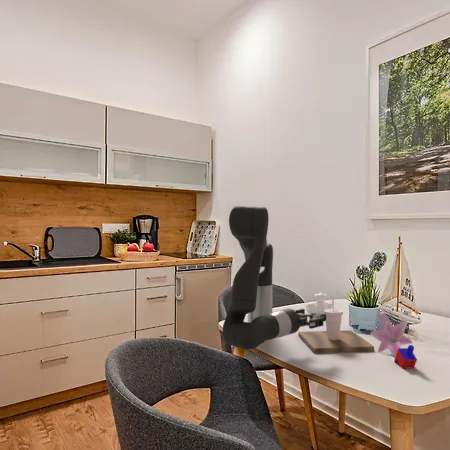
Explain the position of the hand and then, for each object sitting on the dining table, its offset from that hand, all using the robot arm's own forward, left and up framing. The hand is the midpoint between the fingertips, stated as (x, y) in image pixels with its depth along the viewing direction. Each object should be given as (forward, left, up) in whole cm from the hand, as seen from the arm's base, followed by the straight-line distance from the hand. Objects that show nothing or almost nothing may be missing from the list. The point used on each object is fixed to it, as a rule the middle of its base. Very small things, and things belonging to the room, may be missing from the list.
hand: (314, 314), depth 126 cm
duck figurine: (+17, +44, -12) cm, 48 cm away
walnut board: (+9, +6, -12) cm, 16 cm away
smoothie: (+9, +6, -10) cm, 15 cm away
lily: (+24, -5, -12) cm, 27 cm away
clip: (+33, +24, -12) cm, 43 cm away
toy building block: (+22, -16, -12) cm, 30 cm away
